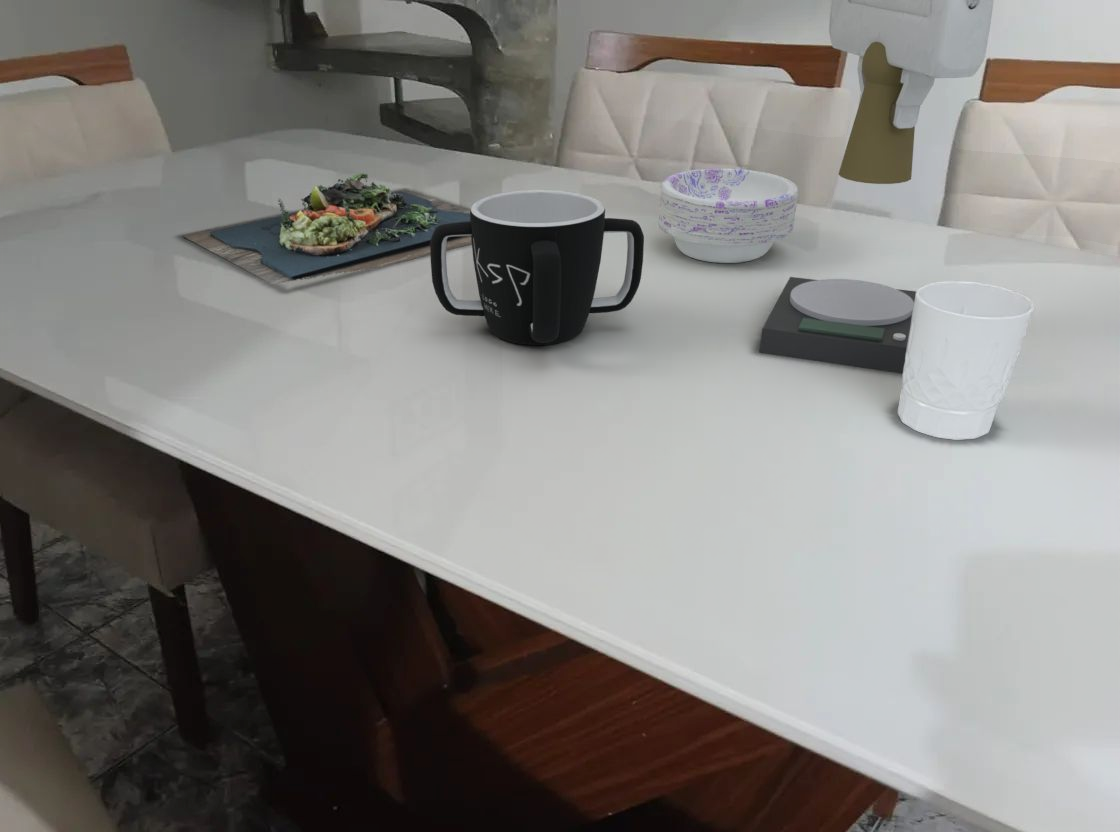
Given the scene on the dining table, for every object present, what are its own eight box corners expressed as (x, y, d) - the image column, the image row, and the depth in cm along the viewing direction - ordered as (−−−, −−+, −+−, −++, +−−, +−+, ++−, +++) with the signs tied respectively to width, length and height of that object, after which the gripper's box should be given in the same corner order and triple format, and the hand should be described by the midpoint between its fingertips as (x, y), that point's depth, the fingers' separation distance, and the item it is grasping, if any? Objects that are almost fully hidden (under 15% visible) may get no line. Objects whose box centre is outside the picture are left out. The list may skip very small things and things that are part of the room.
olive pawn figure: (840, 182, 83) (864, 42, 77) (835, 166, 88) (857, 33, 82) (916, 185, 81) (945, 43, 76) (906, 168, 86) (933, 34, 81)
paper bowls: (733, 282, 104) (742, 208, 100) (629, 250, 114) (633, 182, 110) (816, 252, 112) (827, 183, 108) (711, 225, 122) (718, 161, 118)
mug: (419, 328, 94) (412, 204, 88) (539, 290, 103) (540, 175, 97) (532, 380, 83) (533, 243, 77) (655, 332, 92) (665, 206, 86)
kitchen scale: (786, 299, 99) (790, 270, 98) (922, 315, 94) (929, 286, 93) (758, 353, 87) (763, 321, 86) (912, 375, 83) (920, 342, 81)
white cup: (871, 421, 76) (897, 299, 70) (916, 390, 80) (943, 273, 75) (974, 455, 71) (1009, 327, 66) (1015, 419, 75) (1051, 297, 70)
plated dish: (289, 293, 104) (281, 225, 100) (178, 240, 123) (167, 181, 119) (531, 231, 123) (531, 172, 119) (402, 194, 142) (399, 142, 138)
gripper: (1036, -65, 66) (987, 143, 74) (898, -70, 84) (869, 99, 91) (948, -62, 66) (907, 147, 73) (828, -68, 84) (804, 101, 91)
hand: (885, 120), depth 82 cm, fingers closed on olive pawn figure, 4 cm apart
